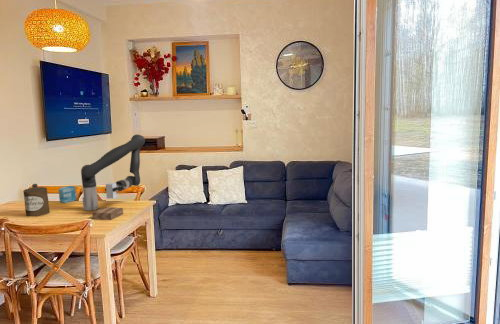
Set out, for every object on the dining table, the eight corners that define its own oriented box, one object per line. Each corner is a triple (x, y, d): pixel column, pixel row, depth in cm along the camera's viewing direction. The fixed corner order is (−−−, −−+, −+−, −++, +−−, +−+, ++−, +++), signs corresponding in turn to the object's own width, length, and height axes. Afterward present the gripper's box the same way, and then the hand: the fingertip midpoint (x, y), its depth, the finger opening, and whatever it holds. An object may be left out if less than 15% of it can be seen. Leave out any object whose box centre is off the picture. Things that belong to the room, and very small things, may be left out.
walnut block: (93, 219, 250) (92, 212, 249) (105, 213, 263) (105, 207, 263) (111, 220, 246) (110, 213, 246) (123, 214, 260) (122, 207, 259)
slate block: (106, 198, 257) (105, 184, 255) (110, 196, 262) (109, 182, 260) (113, 198, 256) (112, 184, 254) (117, 196, 261) (116, 182, 259)
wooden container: (21, 217, 258) (18, 186, 255) (32, 211, 273) (29, 182, 270) (43, 216, 259) (40, 185, 256) (53, 210, 274) (50, 181, 271)
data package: (63, 203, 295) (62, 188, 293) (59, 203, 297) (58, 188, 295) (76, 200, 306) (75, 185, 304) (72, 199, 308) (71, 185, 306)
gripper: (112, 179, 273) (99, 184, 256) (130, 180, 270) (118, 184, 253) (113, 189, 274) (100, 195, 257) (131, 190, 271) (119, 195, 254)
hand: (109, 189), depth 255 cm, fingers closed on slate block, 5 cm apart
